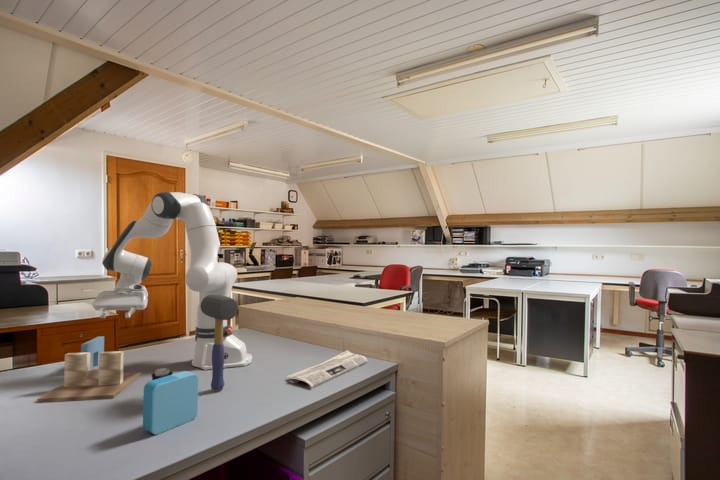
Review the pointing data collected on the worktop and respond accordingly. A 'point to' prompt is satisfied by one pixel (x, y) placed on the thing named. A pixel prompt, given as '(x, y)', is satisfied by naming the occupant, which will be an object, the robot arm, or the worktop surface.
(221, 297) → the rubber mallet
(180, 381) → the blue carrying case
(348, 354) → the newspaper
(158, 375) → the push button
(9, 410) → the worktop surface
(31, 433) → the worktop surface
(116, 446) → the worktop surface
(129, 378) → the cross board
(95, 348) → the slotted plate
